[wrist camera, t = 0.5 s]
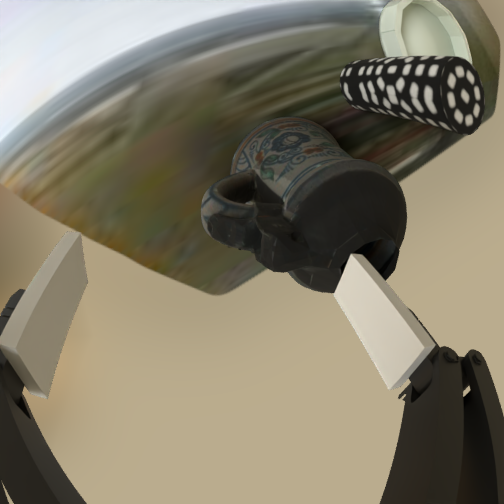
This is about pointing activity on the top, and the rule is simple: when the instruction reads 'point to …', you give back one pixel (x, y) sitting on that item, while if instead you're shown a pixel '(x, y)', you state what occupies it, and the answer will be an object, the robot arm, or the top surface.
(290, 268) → the beer stein
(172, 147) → the top surface
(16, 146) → the top surface
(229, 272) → the top surface
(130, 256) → the top surface
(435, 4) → the bowl
